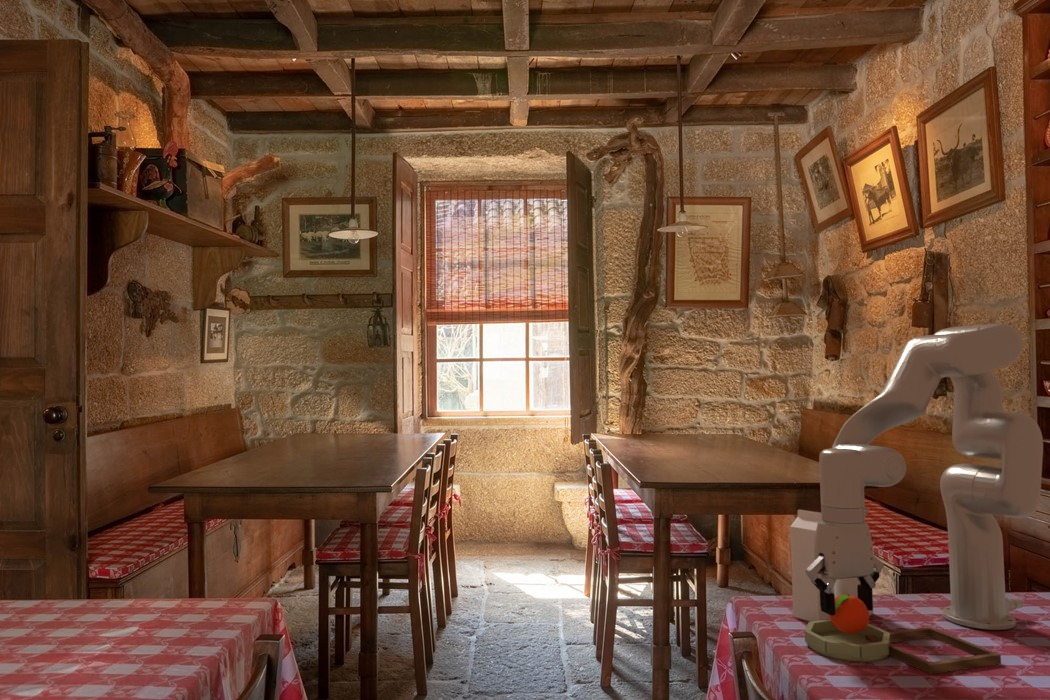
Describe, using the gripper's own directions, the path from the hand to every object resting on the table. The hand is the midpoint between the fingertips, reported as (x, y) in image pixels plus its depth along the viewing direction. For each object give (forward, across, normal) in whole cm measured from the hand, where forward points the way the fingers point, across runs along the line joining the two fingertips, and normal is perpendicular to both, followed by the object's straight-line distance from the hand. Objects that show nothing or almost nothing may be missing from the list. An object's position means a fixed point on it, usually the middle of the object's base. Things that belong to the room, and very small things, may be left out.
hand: (846, 610), depth 133 cm
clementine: (+4, 0, 0) cm, 4 cm away
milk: (+7, -5, -16) cm, 18 cm away
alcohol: (+7, -14, -16) cm, 22 cm away
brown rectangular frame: (+7, -12, +7) cm, 15 cm away
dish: (+7, 0, 0) cm, 7 cm away
